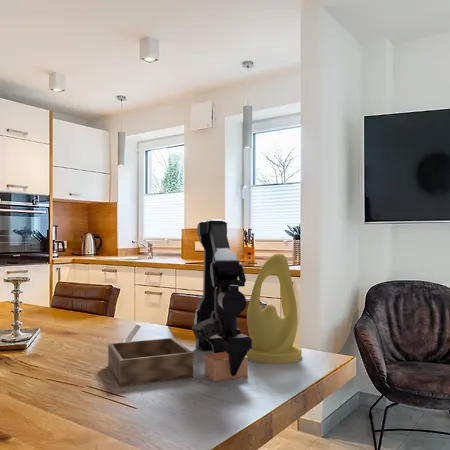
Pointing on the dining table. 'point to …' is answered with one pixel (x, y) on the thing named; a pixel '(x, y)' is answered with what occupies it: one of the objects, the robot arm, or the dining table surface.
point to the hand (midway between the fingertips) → (225, 370)
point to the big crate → (149, 361)
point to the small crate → (223, 367)
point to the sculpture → (273, 318)
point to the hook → (133, 332)
